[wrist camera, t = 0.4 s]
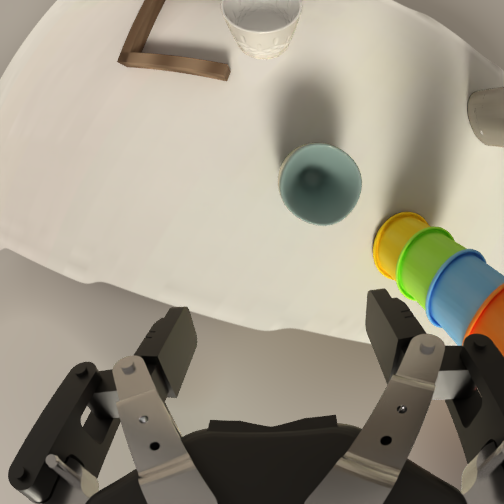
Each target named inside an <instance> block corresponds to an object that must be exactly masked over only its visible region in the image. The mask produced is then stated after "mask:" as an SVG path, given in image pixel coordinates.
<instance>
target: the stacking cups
mask: <svg viewBox="0 0 504 504" xmlns="http://www.w3.org/2000/svg"><path fill="white" fill-rule="evenodd" d="M373 258H374V262H375V265H376V267H377V269H378V270H379V271H380V273H381V274H383V275H384V276H385V277H387V278H389V279H392V280H395V281H396V282H397V286H398V288H399V290H400V292H401V293H402V294H403V295H404V296H405V297H406V298H408V299H410V300H413V301H417V302H418V303H419V304H420V305H421V306H422V307H423V308H424V309H425V311H426V314H427V317H428V319H429V321H430V322H431V323H432V324H433V325H434V326H436V327H440V328H443V329H444V330H445V331H446V332H447V333H448V335H449V336H450V337H451V338H452V339H453V340H454V341H455V343H456V344H457V345H458V346H463V343H464V340H465V338H466V337H467V336H469V335H471V334H482V335H485V336H487V337H489V338H490V339H491V340H492V341H493V343H494V344H495V345H496V347H497V348H498V349H499V351H500V352H501V354H502V355H503V356H504V276H503V275H502V274H500V273H499V272H498V271H496V270H495V269H493V268H492V267H491V266H489V265H488V264H486V261H485V259H484V257H483V255H482V254H481V253H480V252H478V251H476V250H473V249H466V248H465V247H463V246H461V245H460V244H458V243H456V242H455V241H454V239H453V237H452V236H451V234H450V233H449V232H448V231H446V230H445V229H443V228H440V227H431V226H429V225H428V223H427V222H426V220H425V219H424V218H423V217H421V216H420V215H418V214H416V213H413V212H401V213H398V214H396V215H394V216H392V217H390V218H389V219H388V220H387V221H386V222H385V223H384V224H383V225H382V226H381V228H380V229H379V231H378V233H377V235H376V237H375V240H374V245H373Z"/></svg>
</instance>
